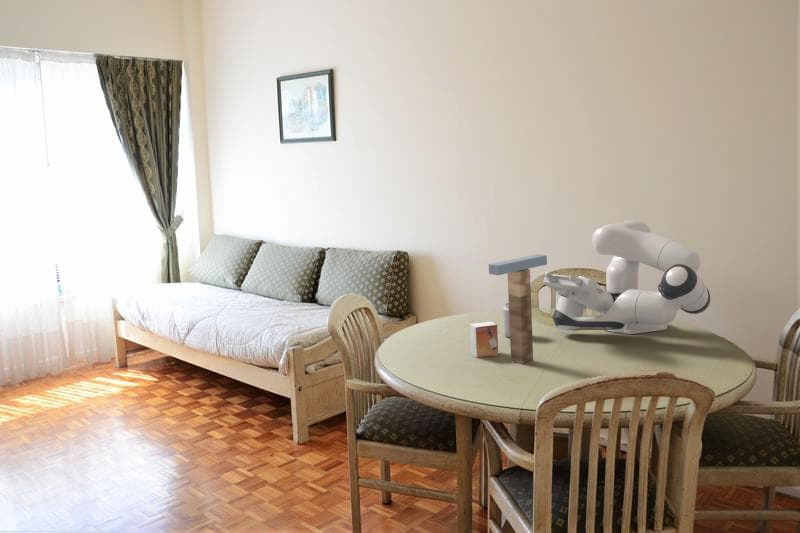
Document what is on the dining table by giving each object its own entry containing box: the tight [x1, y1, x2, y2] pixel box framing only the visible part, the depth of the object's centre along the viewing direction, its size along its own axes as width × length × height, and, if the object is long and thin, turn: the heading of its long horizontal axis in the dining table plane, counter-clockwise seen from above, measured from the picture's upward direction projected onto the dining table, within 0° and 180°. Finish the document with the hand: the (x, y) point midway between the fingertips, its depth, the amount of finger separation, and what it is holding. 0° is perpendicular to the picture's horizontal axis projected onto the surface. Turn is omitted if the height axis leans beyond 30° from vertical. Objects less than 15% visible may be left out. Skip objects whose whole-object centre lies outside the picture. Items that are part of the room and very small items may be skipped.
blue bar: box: [488, 254, 548, 276], centre depth 229 cm, size 22×4×3 cm, turn 127°
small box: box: [469, 320, 499, 358], centre depth 243 cm, size 8×6×10 cm
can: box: [502, 302, 510, 338], centre depth 263 cm, size 8×8×12 cm
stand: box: [507, 268, 534, 365], centre depth 232 cm, size 5×5×30 cm
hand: (557, 275), depth 241 cm, fingers open, 8 cm apart
